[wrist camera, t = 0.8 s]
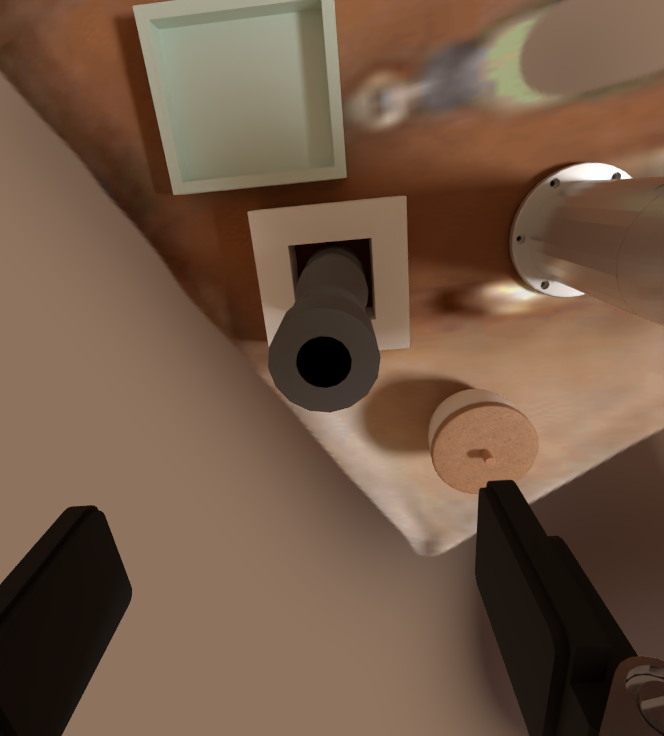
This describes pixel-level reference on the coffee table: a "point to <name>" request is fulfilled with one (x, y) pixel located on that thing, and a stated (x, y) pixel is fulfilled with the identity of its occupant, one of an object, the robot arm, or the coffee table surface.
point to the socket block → (326, 224)
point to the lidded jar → (480, 440)
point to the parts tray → (245, 91)
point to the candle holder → (326, 335)
